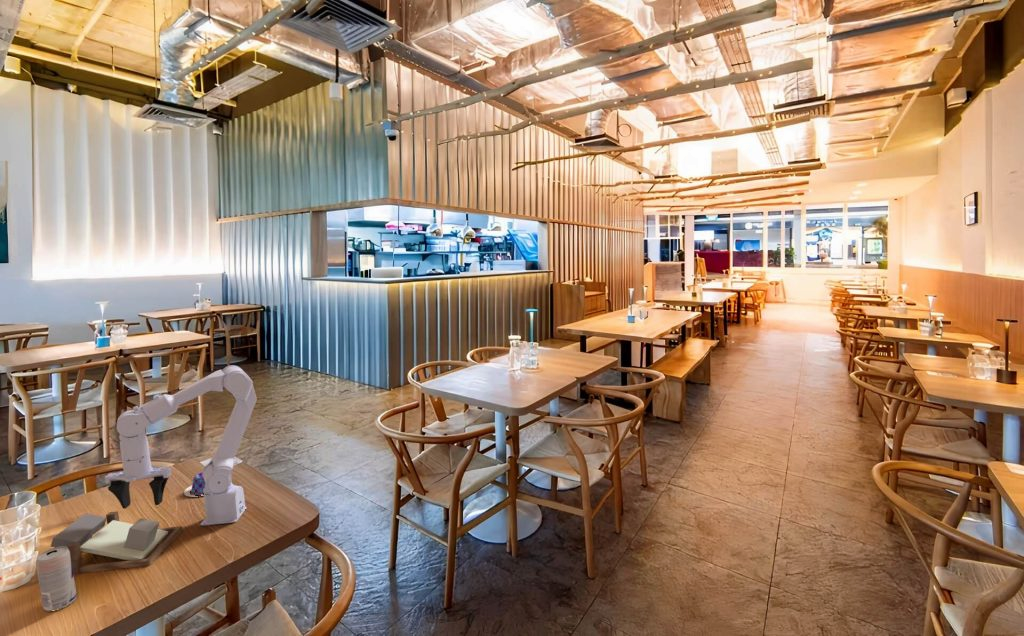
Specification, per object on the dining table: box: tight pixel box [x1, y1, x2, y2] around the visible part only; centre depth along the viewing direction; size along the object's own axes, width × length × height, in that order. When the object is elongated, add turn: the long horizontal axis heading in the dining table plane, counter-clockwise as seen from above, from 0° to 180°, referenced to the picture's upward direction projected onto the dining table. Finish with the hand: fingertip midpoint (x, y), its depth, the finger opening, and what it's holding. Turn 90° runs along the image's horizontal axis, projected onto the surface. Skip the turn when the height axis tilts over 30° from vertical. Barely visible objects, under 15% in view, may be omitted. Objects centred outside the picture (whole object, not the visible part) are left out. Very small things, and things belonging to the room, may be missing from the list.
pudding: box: [183, 471, 205, 498], centre depth 155 cm, size 12×12×5 cm
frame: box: [66, 511, 183, 575], centre depth 122 cm, size 24×16×7 cm
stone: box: [124, 517, 160, 551], centre depth 122 cm, size 5×5×5 cm
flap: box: [50, 513, 169, 561], centre depth 122 cm, size 20×12×2 cm, turn 101°
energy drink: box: [35, 546, 78, 612], centre depth 104 cm, size 5×5×12 cm
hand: (142, 505), depth 126 cm, fingers open, 7 cm apart
